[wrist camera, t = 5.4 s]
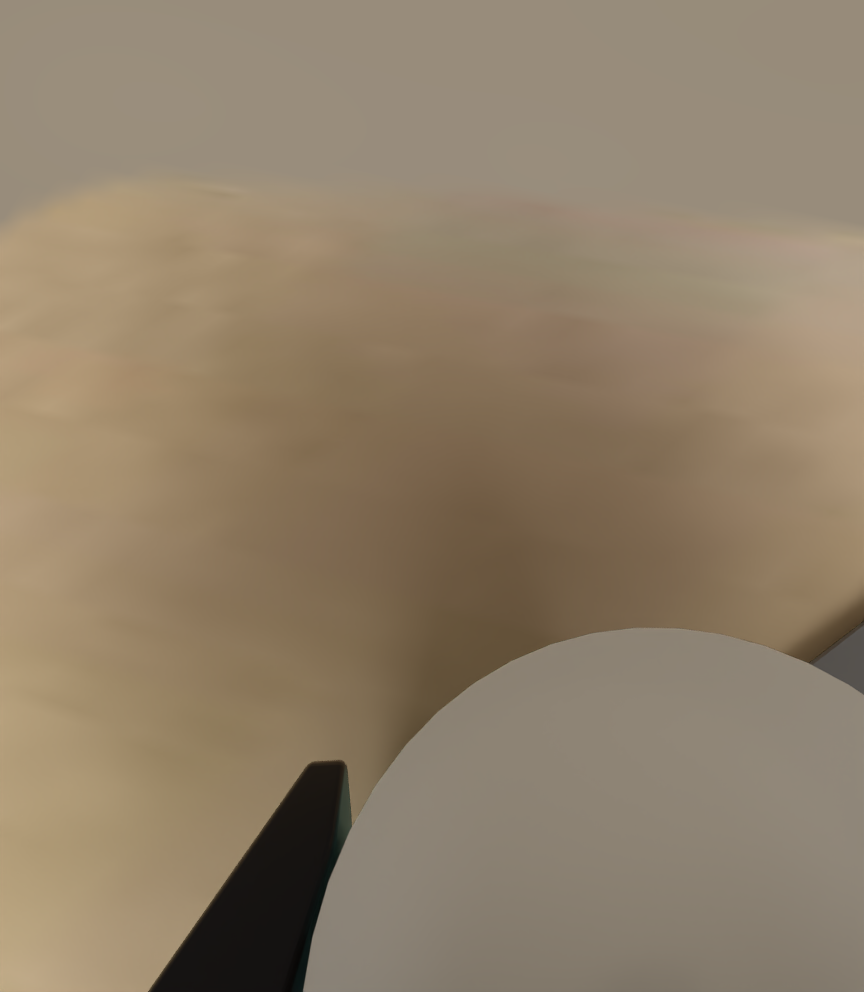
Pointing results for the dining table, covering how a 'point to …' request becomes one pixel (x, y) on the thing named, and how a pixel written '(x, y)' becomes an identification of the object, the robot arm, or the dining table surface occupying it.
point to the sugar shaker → (613, 830)
